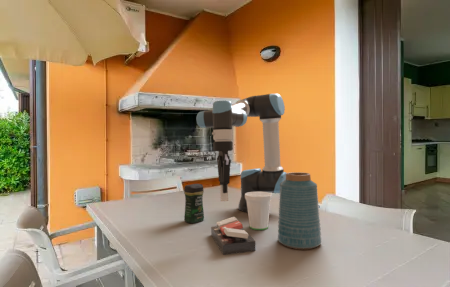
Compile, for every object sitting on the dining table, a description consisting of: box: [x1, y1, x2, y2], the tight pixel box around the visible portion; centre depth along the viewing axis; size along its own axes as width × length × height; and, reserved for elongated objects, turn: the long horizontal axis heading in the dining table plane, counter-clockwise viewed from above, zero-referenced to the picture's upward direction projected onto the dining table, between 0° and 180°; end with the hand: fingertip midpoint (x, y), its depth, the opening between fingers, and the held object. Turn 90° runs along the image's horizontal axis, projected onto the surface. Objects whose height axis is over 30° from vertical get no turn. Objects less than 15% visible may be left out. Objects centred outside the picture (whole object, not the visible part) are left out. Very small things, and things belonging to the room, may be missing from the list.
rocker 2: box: [220, 220, 244, 235], centre depth 107 cm, size 8×5×2 cm, turn 104°
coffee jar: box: [183, 183, 205, 224], centre depth 136 cm, size 10×8×19 cm
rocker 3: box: [224, 228, 249, 238], centre depth 100 cm, size 8×5×2 cm, turn 105°
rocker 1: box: [215, 216, 238, 229], centre depth 113 cm, size 8×5×2 cm, turn 104°
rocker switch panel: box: [210, 225, 256, 256], centre depth 110 cm, size 12×28×5 cm, turn 14°
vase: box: [277, 171, 322, 251], centre depth 105 cm, size 16×16×27 cm
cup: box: [245, 192, 273, 231], centre depth 124 cm, size 12×12×15 cm
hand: (224, 200), depth 106 cm, fingers closed
